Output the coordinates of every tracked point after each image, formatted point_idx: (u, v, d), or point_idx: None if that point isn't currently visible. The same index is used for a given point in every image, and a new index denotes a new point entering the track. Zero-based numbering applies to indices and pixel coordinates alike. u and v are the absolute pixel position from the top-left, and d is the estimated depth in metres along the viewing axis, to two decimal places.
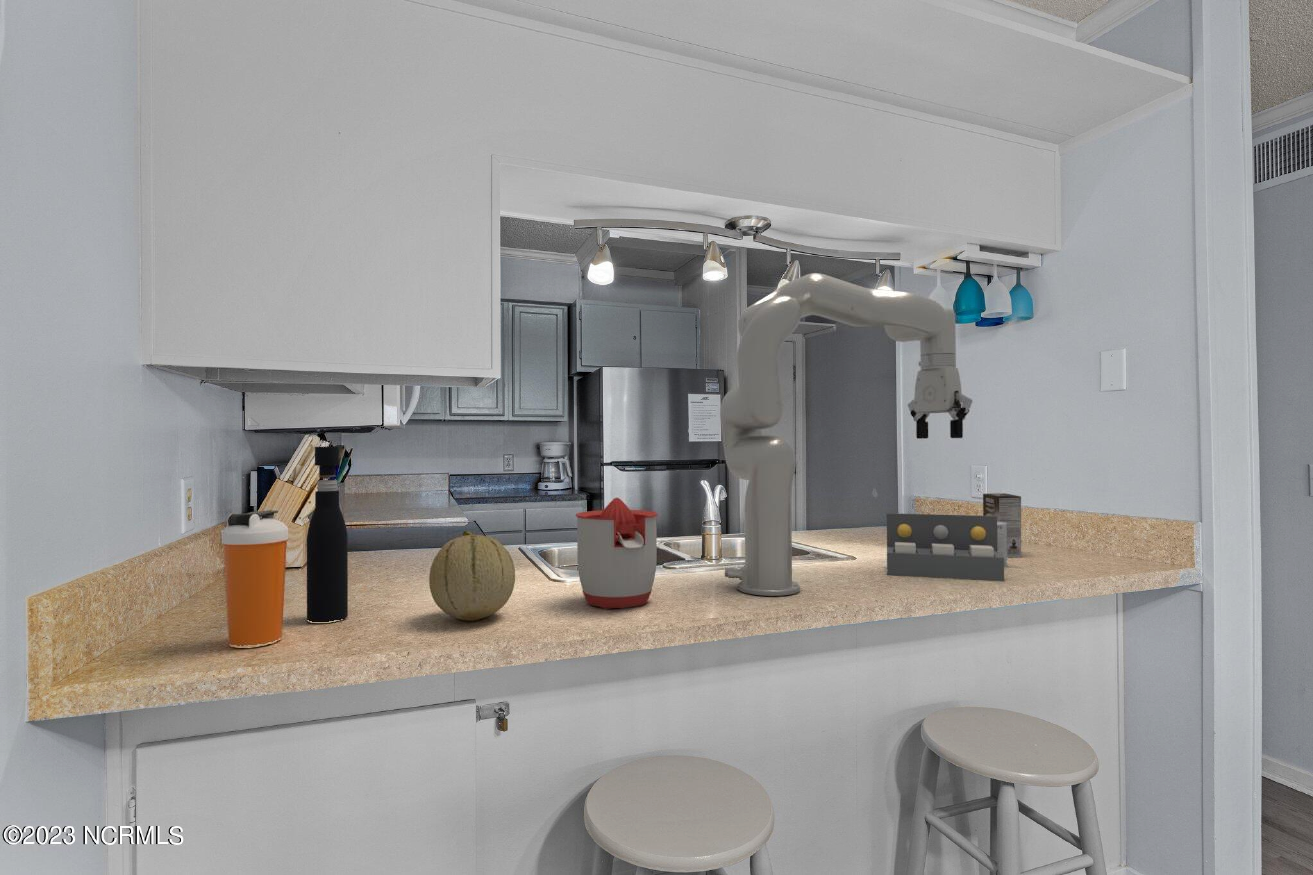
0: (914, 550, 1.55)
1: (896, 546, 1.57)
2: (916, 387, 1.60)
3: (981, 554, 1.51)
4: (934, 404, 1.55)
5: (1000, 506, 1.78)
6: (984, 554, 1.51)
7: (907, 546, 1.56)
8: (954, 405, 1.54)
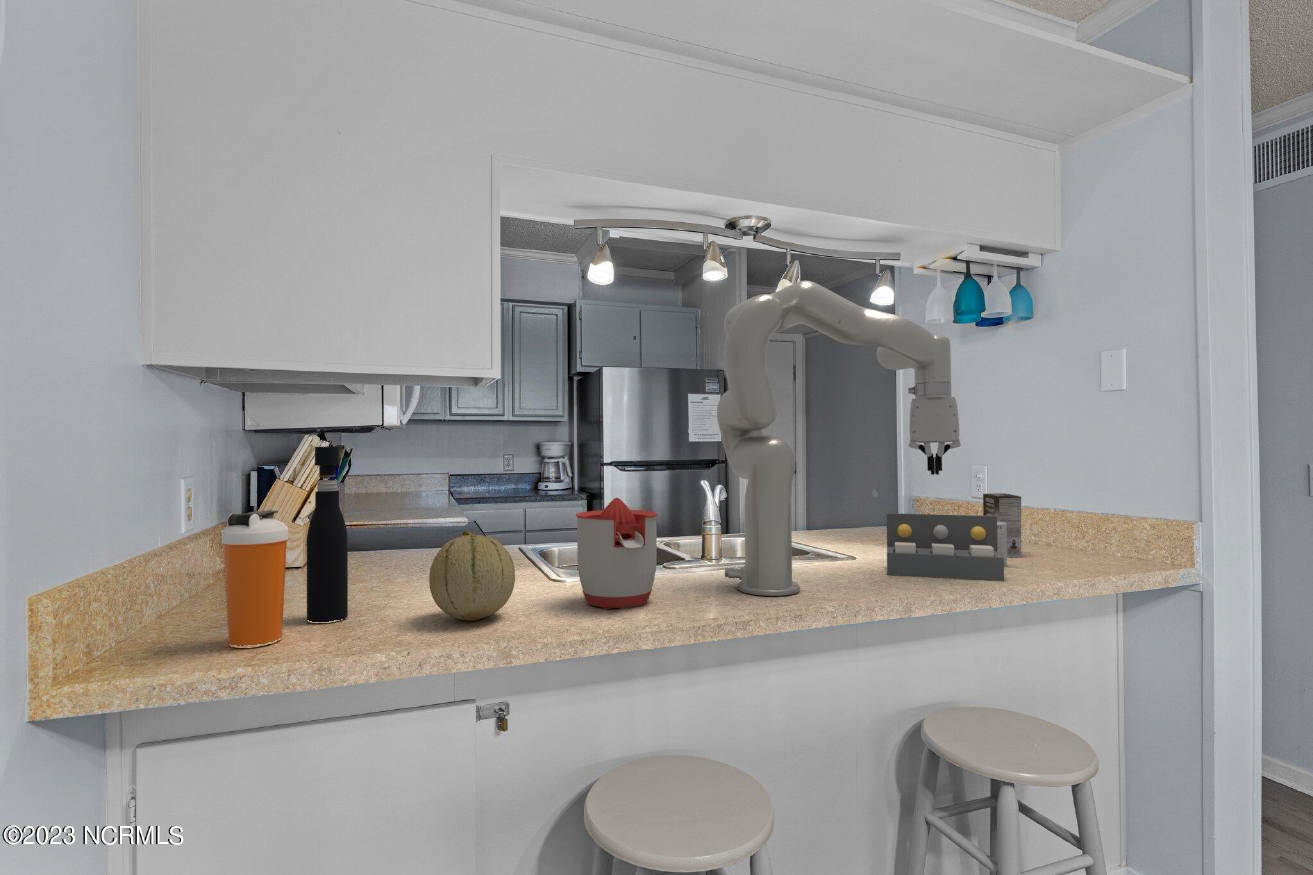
0: (914, 550, 1.55)
1: (896, 546, 1.57)
2: (914, 415, 1.52)
3: (981, 554, 1.51)
4: (941, 434, 1.50)
5: (1000, 506, 1.78)
6: (984, 554, 1.51)
7: (907, 546, 1.56)
8: None
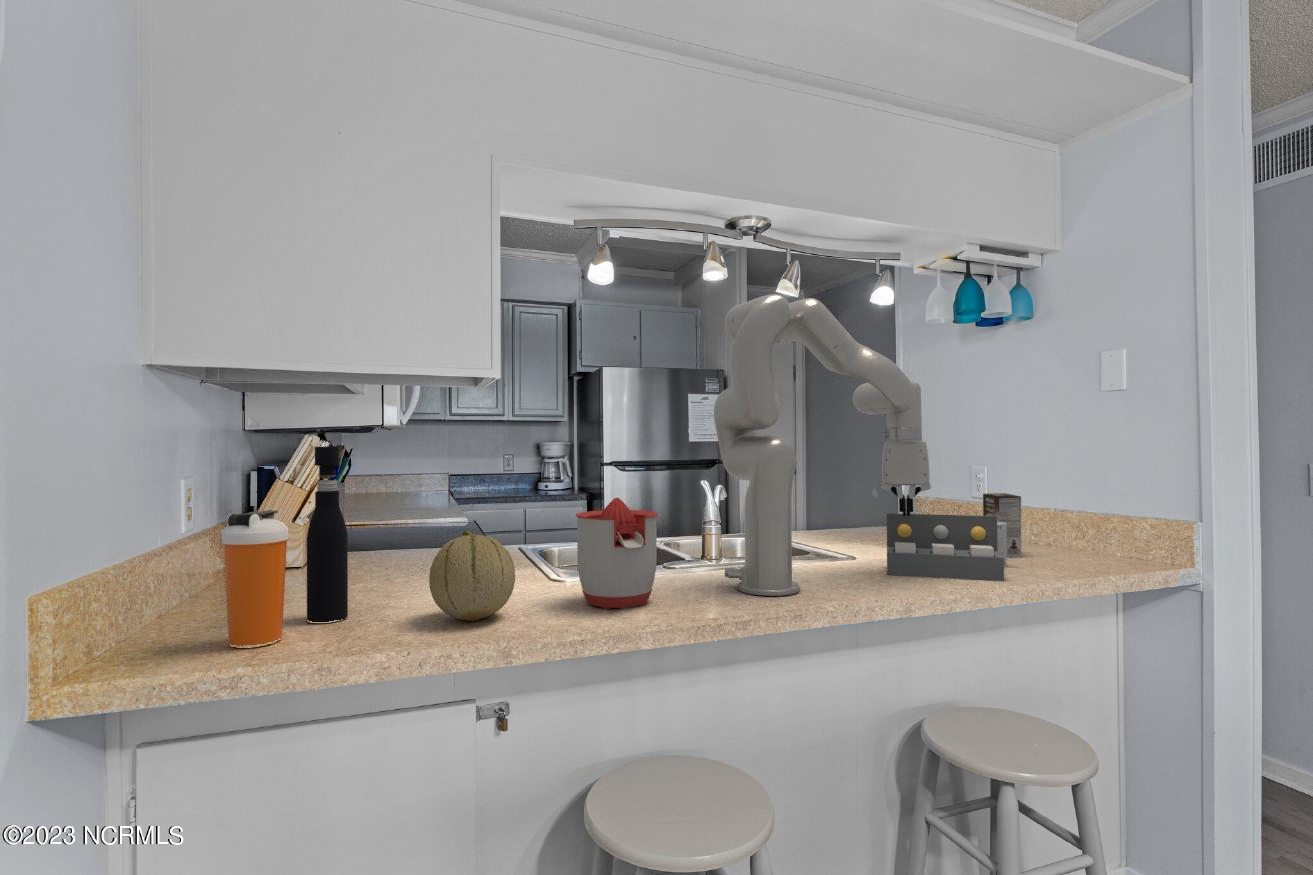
0: (914, 550, 1.55)
1: (896, 546, 1.57)
2: (886, 459, 1.57)
3: (981, 554, 1.51)
4: (912, 477, 1.55)
5: (1000, 506, 1.78)
6: (984, 554, 1.51)
7: (907, 546, 1.56)
8: None
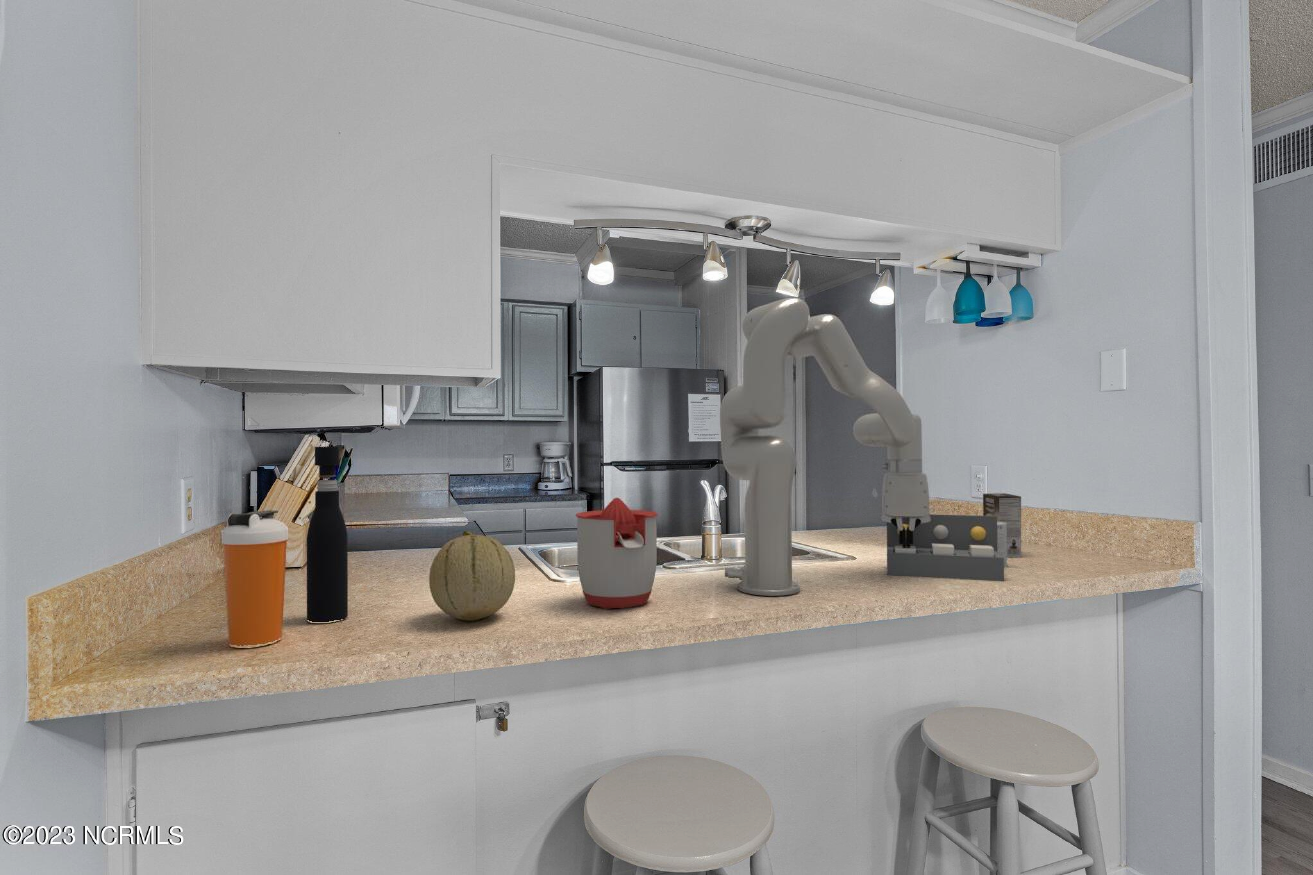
0: None
1: (896, 550, 1.57)
2: (886, 491, 1.57)
3: (981, 554, 1.51)
4: (912, 510, 1.55)
5: (1000, 506, 1.78)
6: (984, 554, 1.51)
7: (907, 550, 1.56)
8: None
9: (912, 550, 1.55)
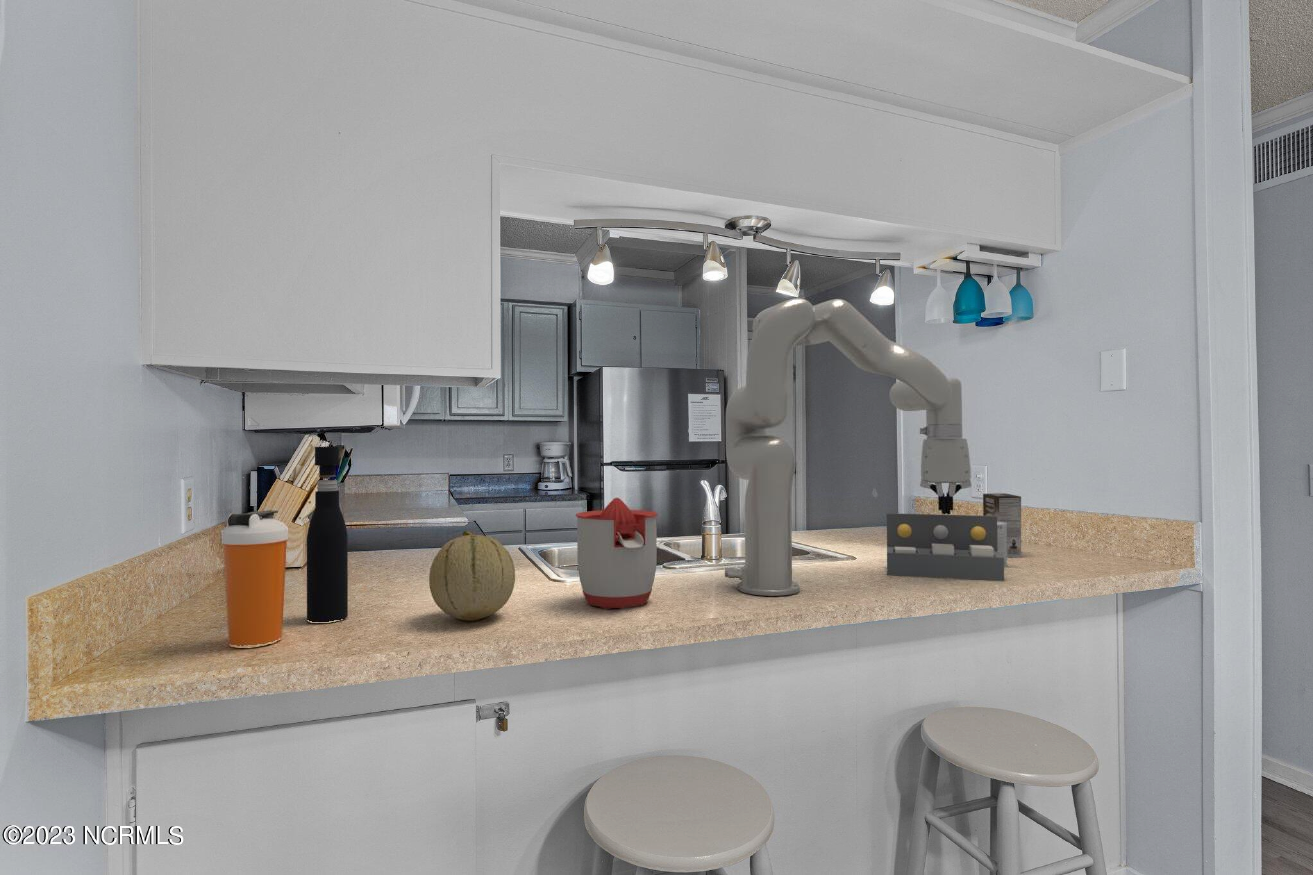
0: None
1: (896, 551, 1.57)
2: (926, 456, 1.54)
3: (981, 554, 1.51)
4: (953, 475, 1.53)
5: (1000, 506, 1.78)
6: (984, 554, 1.51)
7: (907, 551, 1.56)
8: None
9: (912, 551, 1.55)
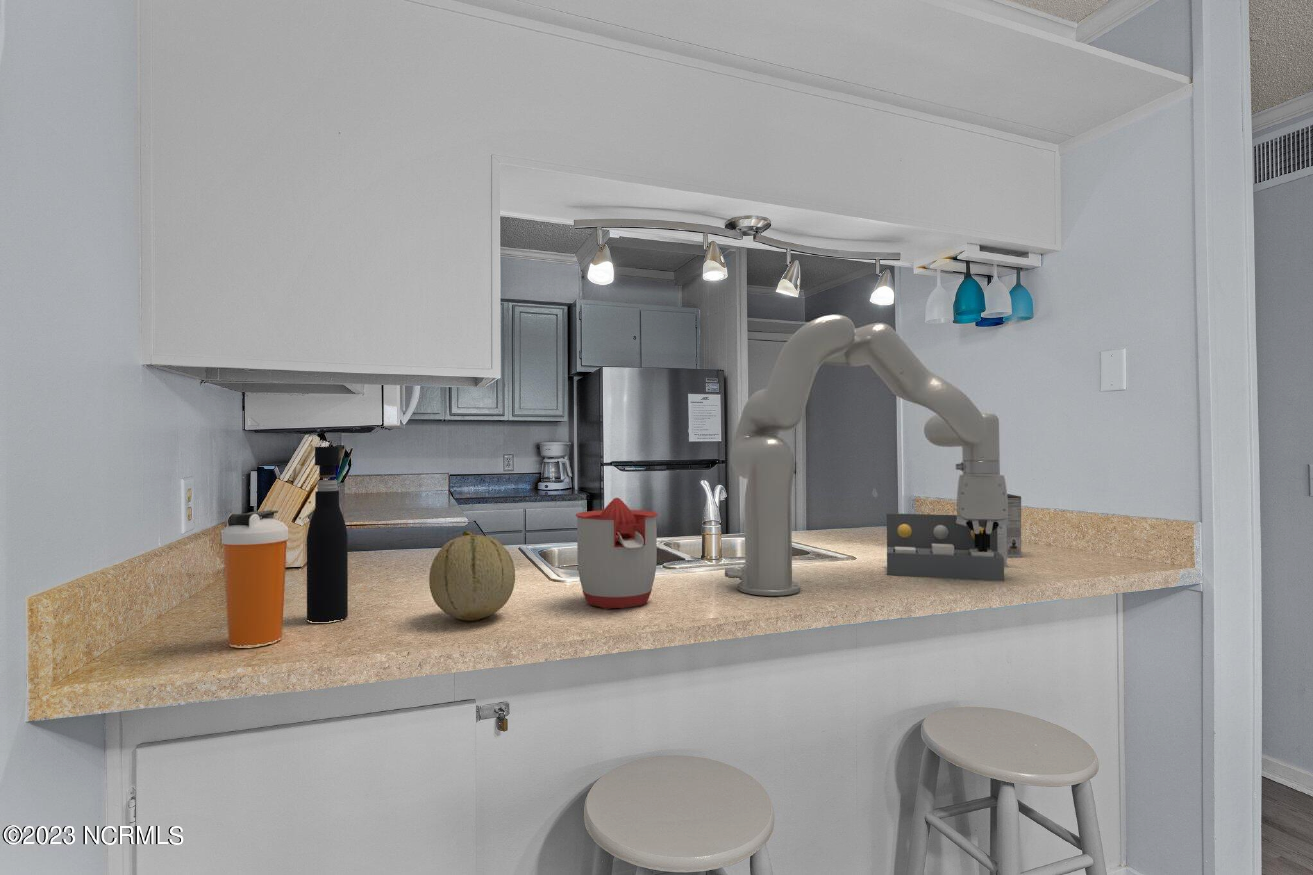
0: None
1: (896, 551, 1.57)
2: (962, 492, 1.52)
3: None
4: (990, 512, 1.50)
5: None
6: None
7: (907, 551, 1.56)
8: None
9: (912, 551, 1.55)
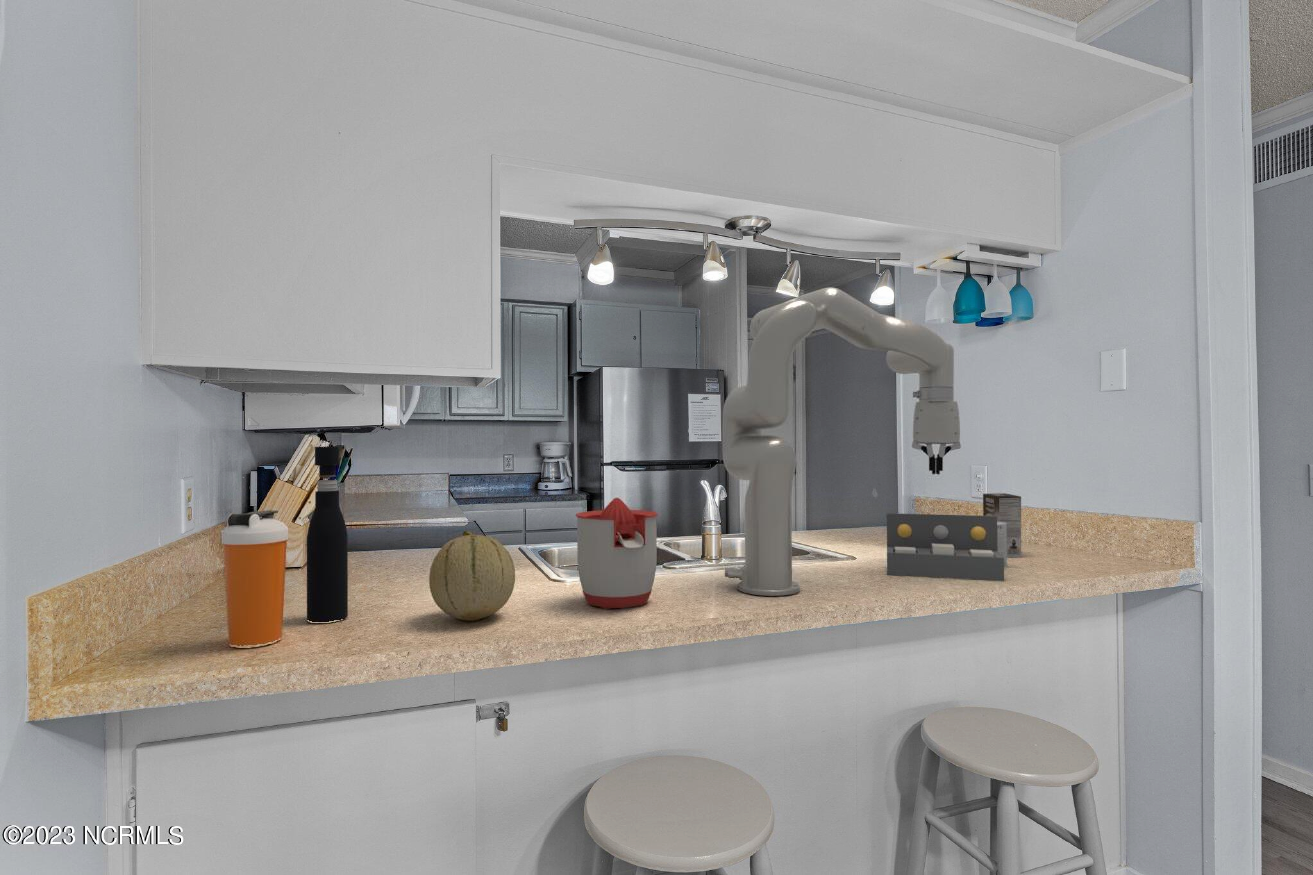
0: None
1: (896, 551, 1.57)
2: (917, 418, 1.61)
3: None
4: (942, 436, 1.58)
5: (1000, 506, 1.78)
6: None
7: (907, 551, 1.56)
8: None
9: (912, 551, 1.55)
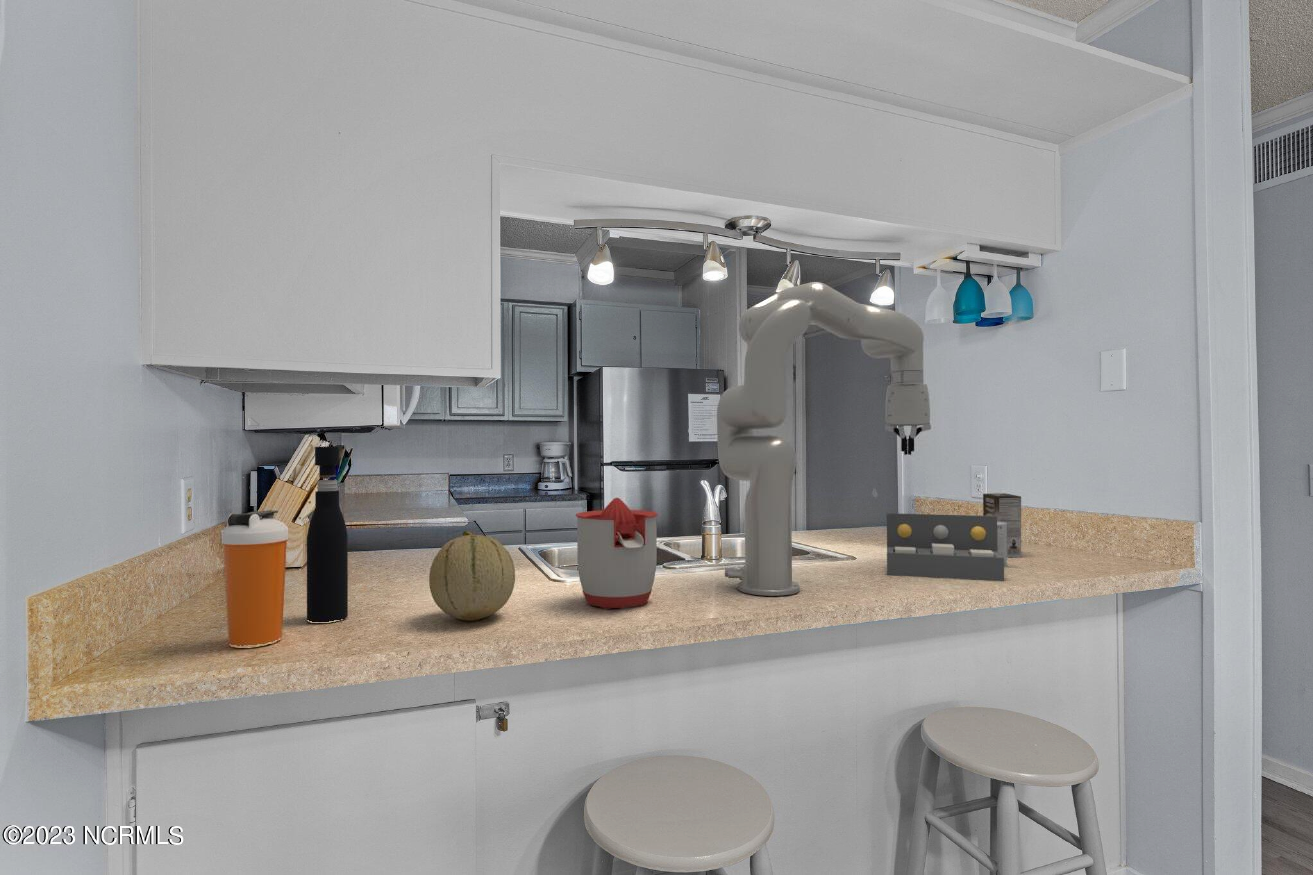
0: None
1: (896, 551, 1.57)
2: (889, 400, 1.67)
3: None
4: (913, 418, 1.65)
5: (1000, 506, 1.78)
6: None
7: (907, 551, 1.56)
8: None
9: (912, 551, 1.55)
